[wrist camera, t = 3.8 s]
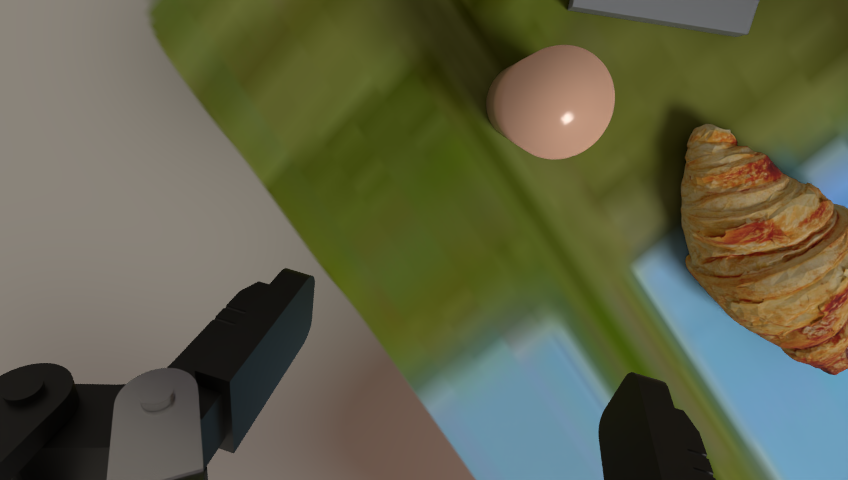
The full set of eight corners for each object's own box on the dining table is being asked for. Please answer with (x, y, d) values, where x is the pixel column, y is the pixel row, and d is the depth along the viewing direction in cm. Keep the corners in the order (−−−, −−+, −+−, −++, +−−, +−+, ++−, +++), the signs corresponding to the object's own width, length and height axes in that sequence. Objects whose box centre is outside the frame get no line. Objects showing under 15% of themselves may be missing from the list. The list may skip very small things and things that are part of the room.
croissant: (629, 147, 35) (618, 191, 29) (782, 67, 29) (808, 103, 23) (757, 348, 39) (770, 423, 33) (917, 317, 33) (969, 404, 27)
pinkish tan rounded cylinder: (571, 68, 30) (628, 54, 21) (552, 146, 32) (598, 166, 22) (494, 56, 30) (516, 36, 21) (479, 135, 32) (493, 150, 22)
